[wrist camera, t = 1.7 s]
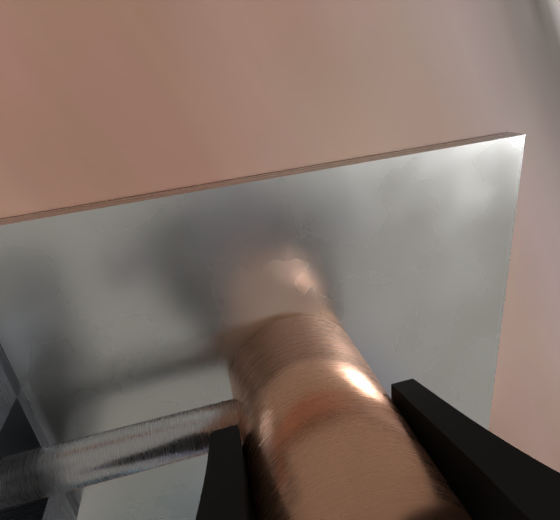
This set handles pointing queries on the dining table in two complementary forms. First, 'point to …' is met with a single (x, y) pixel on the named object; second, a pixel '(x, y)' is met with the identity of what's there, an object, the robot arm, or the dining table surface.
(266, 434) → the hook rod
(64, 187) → the dining table surface
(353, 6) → the dining table surface
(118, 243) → the grey plate
